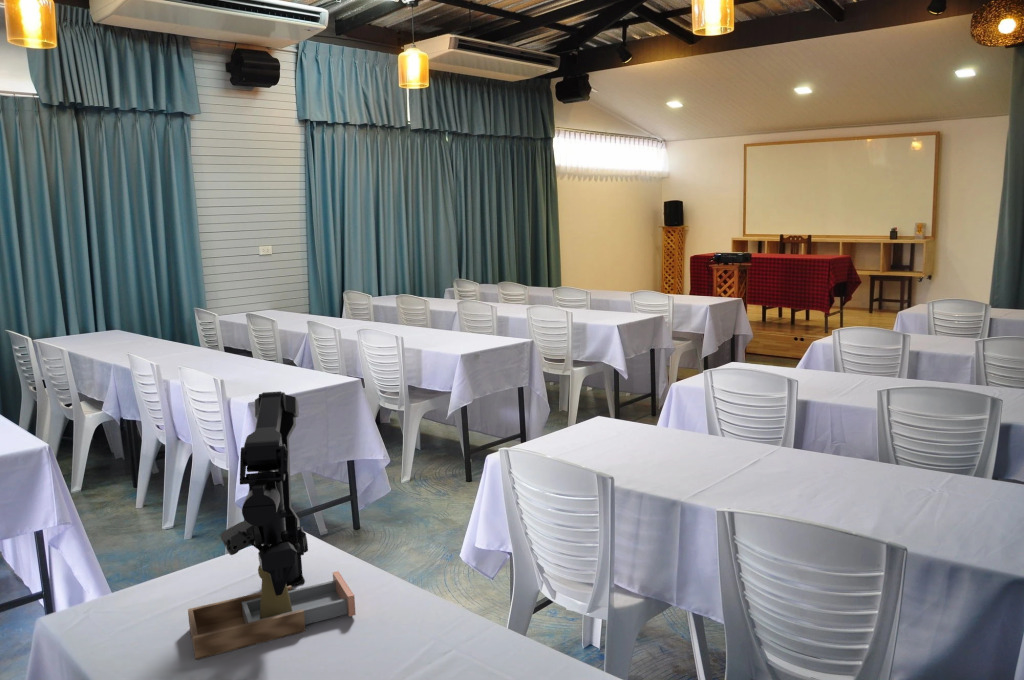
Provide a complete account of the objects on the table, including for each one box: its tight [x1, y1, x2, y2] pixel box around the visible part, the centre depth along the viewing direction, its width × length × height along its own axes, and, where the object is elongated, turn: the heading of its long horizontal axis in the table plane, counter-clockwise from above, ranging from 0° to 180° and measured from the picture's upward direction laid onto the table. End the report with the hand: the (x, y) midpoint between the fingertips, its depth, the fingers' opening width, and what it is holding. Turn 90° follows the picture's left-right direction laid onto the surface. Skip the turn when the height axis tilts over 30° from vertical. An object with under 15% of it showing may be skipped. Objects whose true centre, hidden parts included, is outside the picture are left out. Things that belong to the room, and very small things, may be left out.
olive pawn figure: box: [257, 564, 292, 619], centre depth 147 cm, size 6×6×11 cm
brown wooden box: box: [187, 585, 306, 661], centre depth 146 cm, size 19×12×4 cm, turn 117°
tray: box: [242, 570, 356, 625], centre depth 150 cm, size 19×12×4 cm, turn 117°
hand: (274, 584), depth 147 cm, fingers open, 9 cm apart
